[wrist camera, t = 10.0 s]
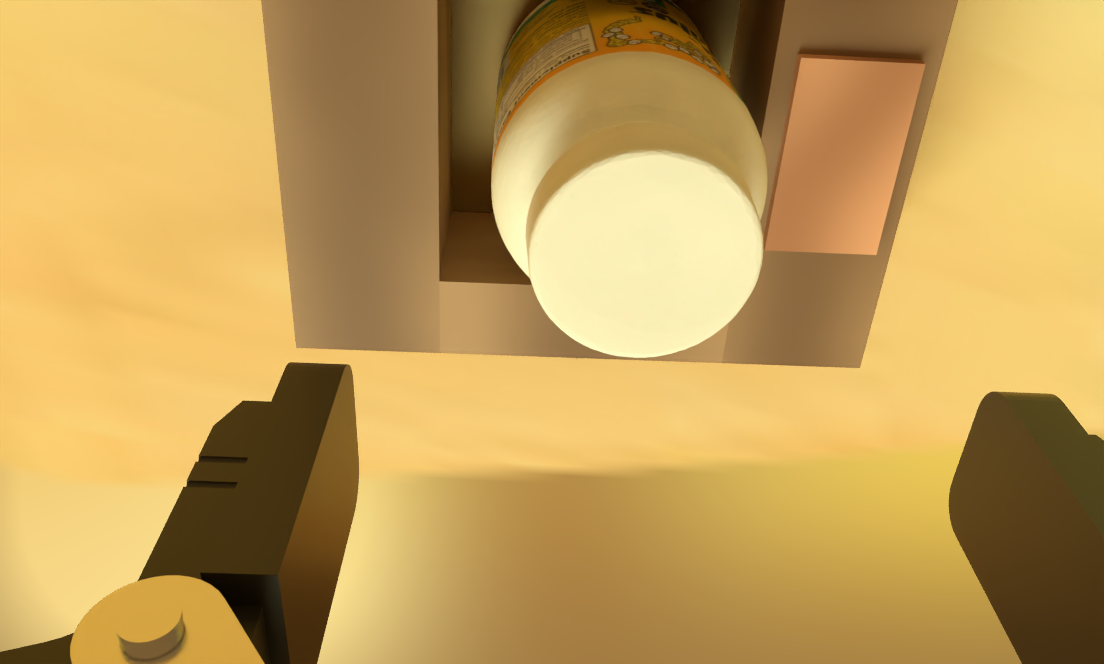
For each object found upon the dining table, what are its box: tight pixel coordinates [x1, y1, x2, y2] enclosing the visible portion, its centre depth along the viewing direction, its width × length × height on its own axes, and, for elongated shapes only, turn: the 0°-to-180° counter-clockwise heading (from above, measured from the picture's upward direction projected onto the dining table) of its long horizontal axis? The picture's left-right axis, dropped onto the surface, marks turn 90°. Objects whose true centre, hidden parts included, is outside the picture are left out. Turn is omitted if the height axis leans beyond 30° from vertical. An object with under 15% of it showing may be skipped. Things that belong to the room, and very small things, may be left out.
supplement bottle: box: [491, 0, 767, 358], centre depth 20 cm, size 5×5×10 cm
